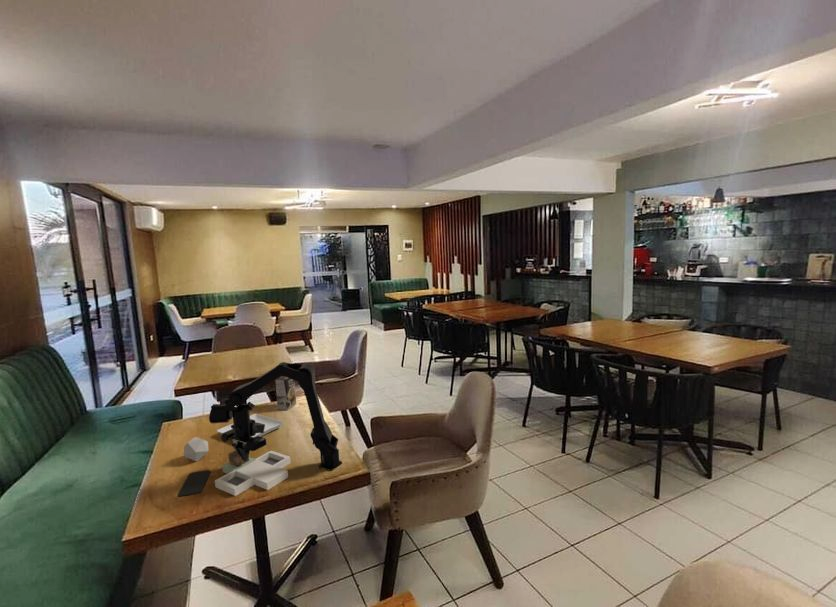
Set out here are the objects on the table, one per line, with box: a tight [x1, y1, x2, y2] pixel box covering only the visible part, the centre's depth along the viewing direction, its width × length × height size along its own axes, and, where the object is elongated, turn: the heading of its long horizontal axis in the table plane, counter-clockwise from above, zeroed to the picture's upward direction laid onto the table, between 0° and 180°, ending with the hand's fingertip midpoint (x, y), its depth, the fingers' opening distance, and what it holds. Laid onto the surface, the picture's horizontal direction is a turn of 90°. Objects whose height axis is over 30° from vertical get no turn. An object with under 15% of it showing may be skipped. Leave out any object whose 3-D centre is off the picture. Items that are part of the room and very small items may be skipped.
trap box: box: [214, 450, 292, 497], centre depth 149 cm, size 25×24×2 cm
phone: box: [177, 469, 211, 498], centre depth 145 cm, size 7×1×15 cm
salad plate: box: [216, 413, 284, 438], centre depth 185 cm, size 21×21×3 cm
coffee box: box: [275, 376, 297, 411], centre depth 214 cm, size 9×6×16 cm
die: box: [183, 436, 209, 462], centre depth 162 cm, size 8×9×10 cm
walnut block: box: [227, 449, 250, 467], centre depth 153 cm, size 5×5×4 cm
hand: (245, 461), depth 151 cm, fingers closed
